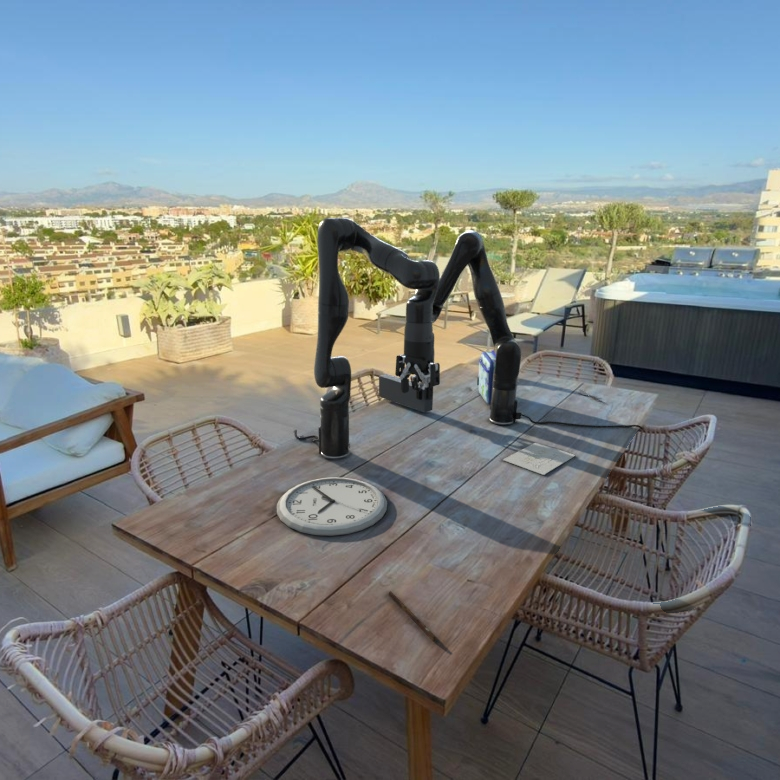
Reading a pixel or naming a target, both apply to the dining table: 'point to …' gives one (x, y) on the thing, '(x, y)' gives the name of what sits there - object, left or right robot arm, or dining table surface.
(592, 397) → the fork
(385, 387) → the bar
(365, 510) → the wall clock
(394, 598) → the dark brown stick
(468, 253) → the right robot arm
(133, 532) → the dining table surface
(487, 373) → the lunch box
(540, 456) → the invitation card
